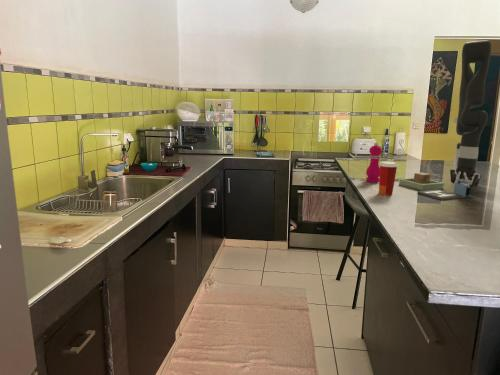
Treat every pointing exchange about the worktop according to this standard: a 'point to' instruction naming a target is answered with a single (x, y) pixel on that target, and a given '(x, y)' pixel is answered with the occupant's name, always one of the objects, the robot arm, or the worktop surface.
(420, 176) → the walnut block
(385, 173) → the paper cup
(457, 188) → the slate cube
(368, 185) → the worktop surface
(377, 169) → the pepper mill
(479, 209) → the worktop surface
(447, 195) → the letter mat
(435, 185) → the tray
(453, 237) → the worktop surface
